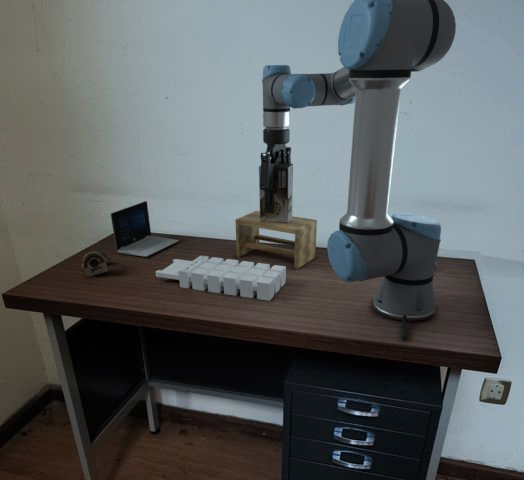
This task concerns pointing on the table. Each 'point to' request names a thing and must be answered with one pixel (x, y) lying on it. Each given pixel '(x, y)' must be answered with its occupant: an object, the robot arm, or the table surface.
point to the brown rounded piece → (95, 263)
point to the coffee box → (279, 195)
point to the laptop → (136, 232)
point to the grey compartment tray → (227, 276)
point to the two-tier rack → (299, 226)
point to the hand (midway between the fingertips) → (276, 209)
